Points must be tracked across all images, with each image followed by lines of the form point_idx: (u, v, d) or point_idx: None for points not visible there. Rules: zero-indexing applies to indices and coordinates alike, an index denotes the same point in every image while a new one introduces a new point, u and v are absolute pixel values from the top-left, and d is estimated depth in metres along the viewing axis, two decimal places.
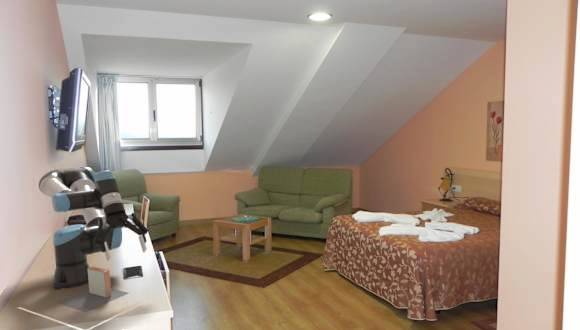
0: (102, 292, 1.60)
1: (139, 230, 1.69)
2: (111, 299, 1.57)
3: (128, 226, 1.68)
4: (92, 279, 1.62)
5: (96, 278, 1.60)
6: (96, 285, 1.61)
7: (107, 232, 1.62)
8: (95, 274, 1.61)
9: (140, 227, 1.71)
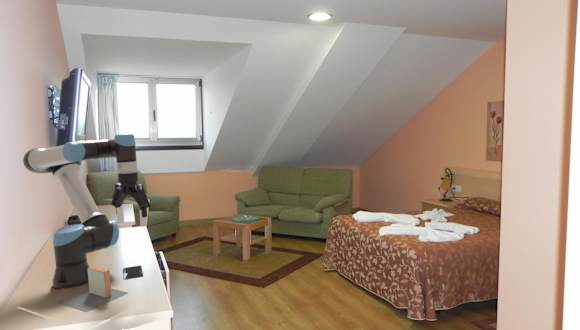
0: (102, 292, 1.60)
1: (139, 204, 1.68)
2: (111, 299, 1.57)
3: None
4: (92, 279, 1.62)
5: (96, 278, 1.60)
6: (96, 285, 1.61)
7: (119, 199, 1.74)
8: (95, 274, 1.61)
9: None
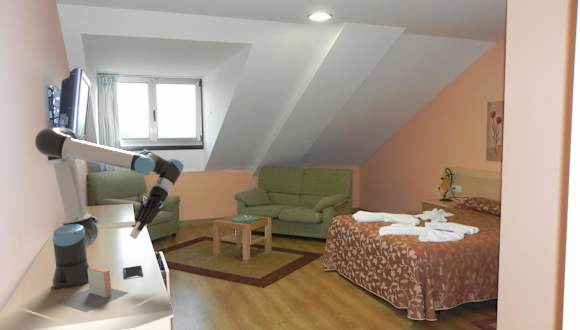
0: (102, 292, 1.60)
1: (144, 217, 1.78)
2: (111, 299, 1.57)
3: None
4: (92, 279, 1.62)
5: (96, 278, 1.60)
6: (96, 285, 1.61)
7: (142, 212, 1.80)
8: (95, 274, 1.61)
9: None
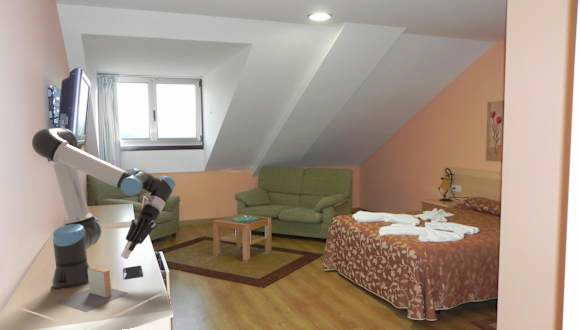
0: (102, 292, 1.60)
1: (135, 237, 1.74)
2: (111, 299, 1.57)
3: None
4: (92, 279, 1.62)
5: (96, 278, 1.60)
6: (96, 285, 1.61)
7: (134, 231, 1.77)
8: (95, 274, 1.61)
9: None
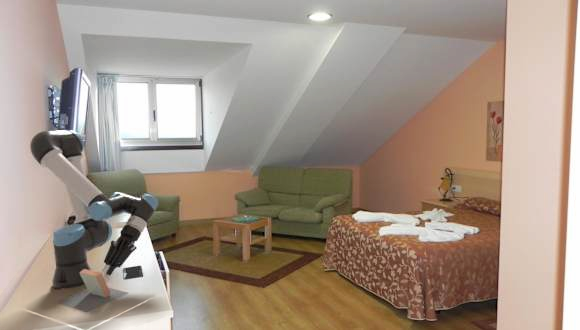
0: (101, 293, 1.59)
1: (114, 260, 1.66)
2: (111, 299, 1.57)
3: None
4: (87, 282, 1.60)
5: (91, 281, 1.58)
6: (93, 287, 1.60)
7: (112, 254, 1.68)
8: (88, 278, 1.58)
9: None
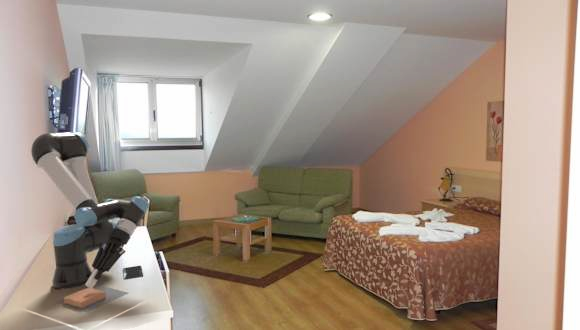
0: None
1: (102, 264, 1.61)
2: (111, 299, 1.57)
3: None
4: None
5: None
6: None
7: (101, 258, 1.64)
8: None
9: None
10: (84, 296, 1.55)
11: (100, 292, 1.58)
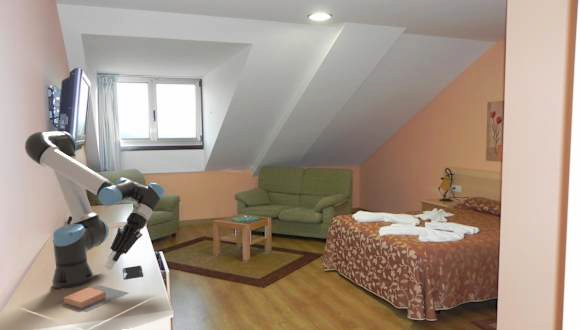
0: None
1: (120, 246, 1.68)
2: (111, 299, 1.57)
3: None
4: None
5: None
6: None
7: (119, 240, 1.71)
8: None
9: None
10: (84, 296, 1.55)
11: (100, 292, 1.58)
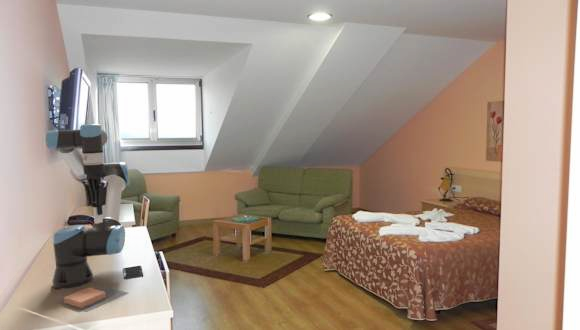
0: None
1: (96, 201, 1.66)
2: (111, 299, 1.57)
3: None
4: None
5: None
6: None
7: (91, 195, 1.67)
8: None
9: None
10: (84, 296, 1.55)
11: (100, 292, 1.58)
